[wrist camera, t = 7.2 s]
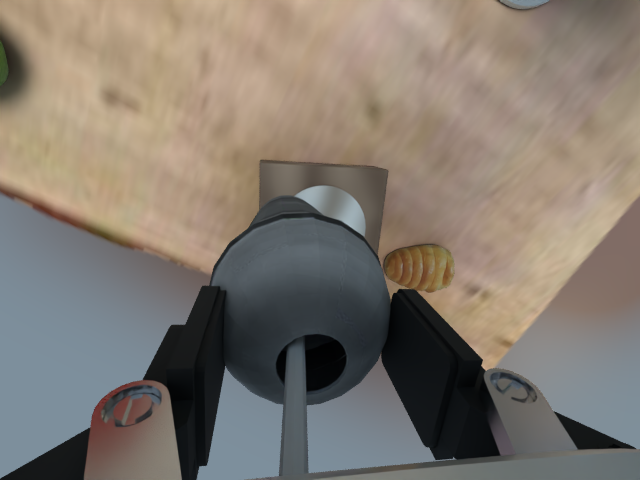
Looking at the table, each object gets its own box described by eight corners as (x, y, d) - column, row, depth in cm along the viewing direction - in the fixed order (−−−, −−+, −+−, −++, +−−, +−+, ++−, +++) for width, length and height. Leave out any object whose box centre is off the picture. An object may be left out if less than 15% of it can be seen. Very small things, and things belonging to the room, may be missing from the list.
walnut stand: (373, 166, 39) (389, 170, 34) (361, 269, 43) (374, 286, 38) (260, 159, 37) (259, 163, 32) (259, 269, 41) (258, 288, 36)
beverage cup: (289, 286, 25) (343, 724, 6) (216, 227, 23) (-36, 649, 4) (352, 221, 24) (633, 511, 6) (283, 154, 22) (362, 258, 3)
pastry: (378, 283, 45) (388, 296, 41) (386, 239, 43) (397, 248, 39) (437, 286, 47) (451, 298, 43) (447, 243, 45) (463, 252, 41)
